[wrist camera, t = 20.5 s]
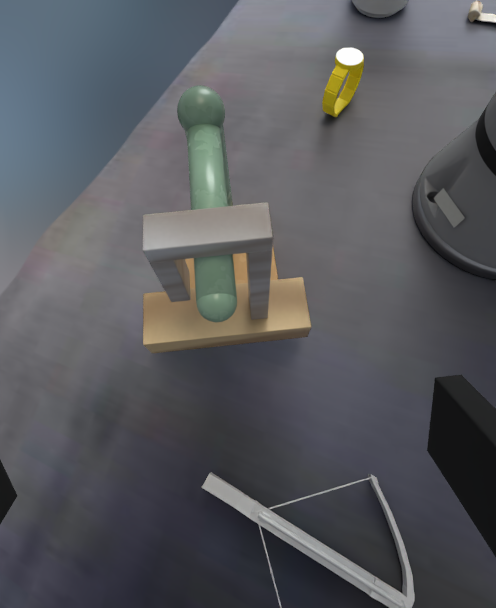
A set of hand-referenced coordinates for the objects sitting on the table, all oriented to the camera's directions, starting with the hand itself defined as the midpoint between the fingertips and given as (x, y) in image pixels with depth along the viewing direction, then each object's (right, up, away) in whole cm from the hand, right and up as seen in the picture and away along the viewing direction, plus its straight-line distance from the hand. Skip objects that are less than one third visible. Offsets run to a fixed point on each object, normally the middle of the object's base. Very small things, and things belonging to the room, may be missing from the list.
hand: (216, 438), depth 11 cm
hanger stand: (-1, +5, +24) cm, 24 cm away
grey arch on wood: (-1, +3, +19) cm, 19 cm away
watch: (+11, +26, +32) cm, 43 cm away
